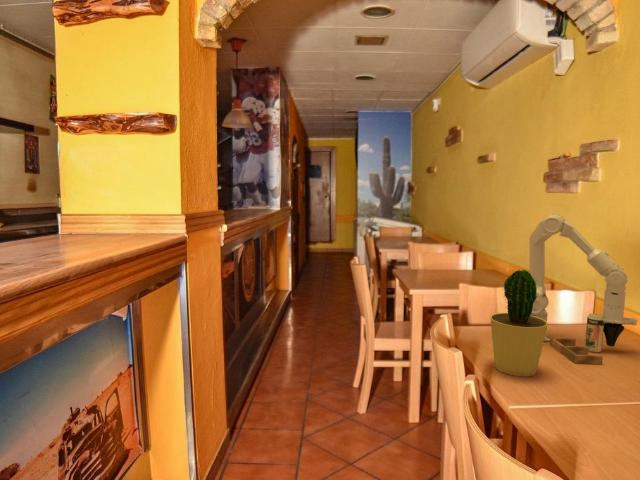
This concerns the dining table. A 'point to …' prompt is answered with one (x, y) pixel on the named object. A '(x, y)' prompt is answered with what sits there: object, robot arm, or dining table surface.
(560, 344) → the brown compartment tray
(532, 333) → the potted cactus
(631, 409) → the dining table surface
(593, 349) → the beer can
